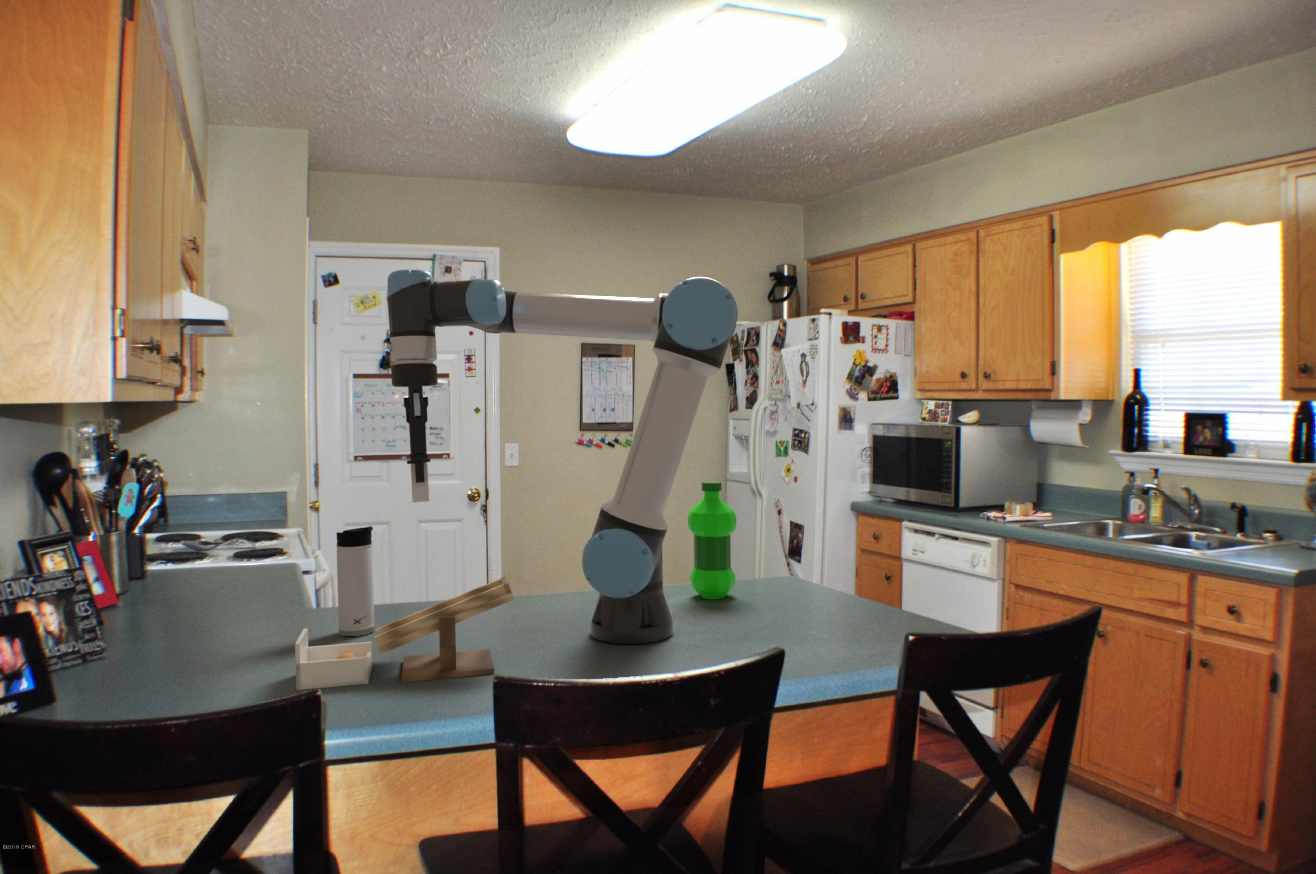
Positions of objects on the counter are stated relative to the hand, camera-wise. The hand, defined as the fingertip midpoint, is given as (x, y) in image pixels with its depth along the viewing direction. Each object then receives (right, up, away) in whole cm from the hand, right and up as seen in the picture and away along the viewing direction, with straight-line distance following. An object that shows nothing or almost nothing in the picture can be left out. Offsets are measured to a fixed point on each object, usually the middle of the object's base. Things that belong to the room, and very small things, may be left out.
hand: (420, 501), depth 145 cm
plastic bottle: (+52, -24, +41) cm, 71 cm away
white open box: (-10, -27, -12) cm, 31 cm away
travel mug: (-16, -26, +14) cm, 34 cm away
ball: (-9, -25, -12) cm, 29 cm away
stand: (+6, -26, -8) cm, 28 cm away
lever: (+6, -19, -5) cm, 20 cm away
